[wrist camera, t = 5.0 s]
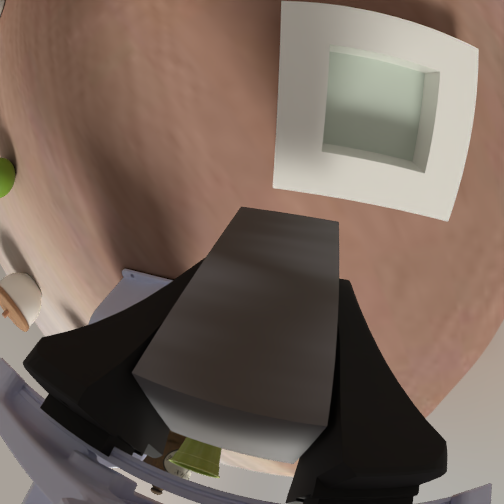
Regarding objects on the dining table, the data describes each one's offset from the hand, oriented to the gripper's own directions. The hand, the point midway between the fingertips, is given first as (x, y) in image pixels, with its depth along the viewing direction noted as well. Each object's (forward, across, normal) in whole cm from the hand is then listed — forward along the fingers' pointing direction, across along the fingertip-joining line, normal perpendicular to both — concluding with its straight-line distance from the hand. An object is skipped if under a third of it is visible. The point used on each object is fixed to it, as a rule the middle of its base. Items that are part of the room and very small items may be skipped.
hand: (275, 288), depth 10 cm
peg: (+2, 0, 0) cm, 2 cm away
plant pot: (+10, +12, +57) cm, 59 cm away
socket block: (+10, -4, -7) cm, 13 cm away
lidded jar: (+10, +47, +22) cm, 53 cm away
